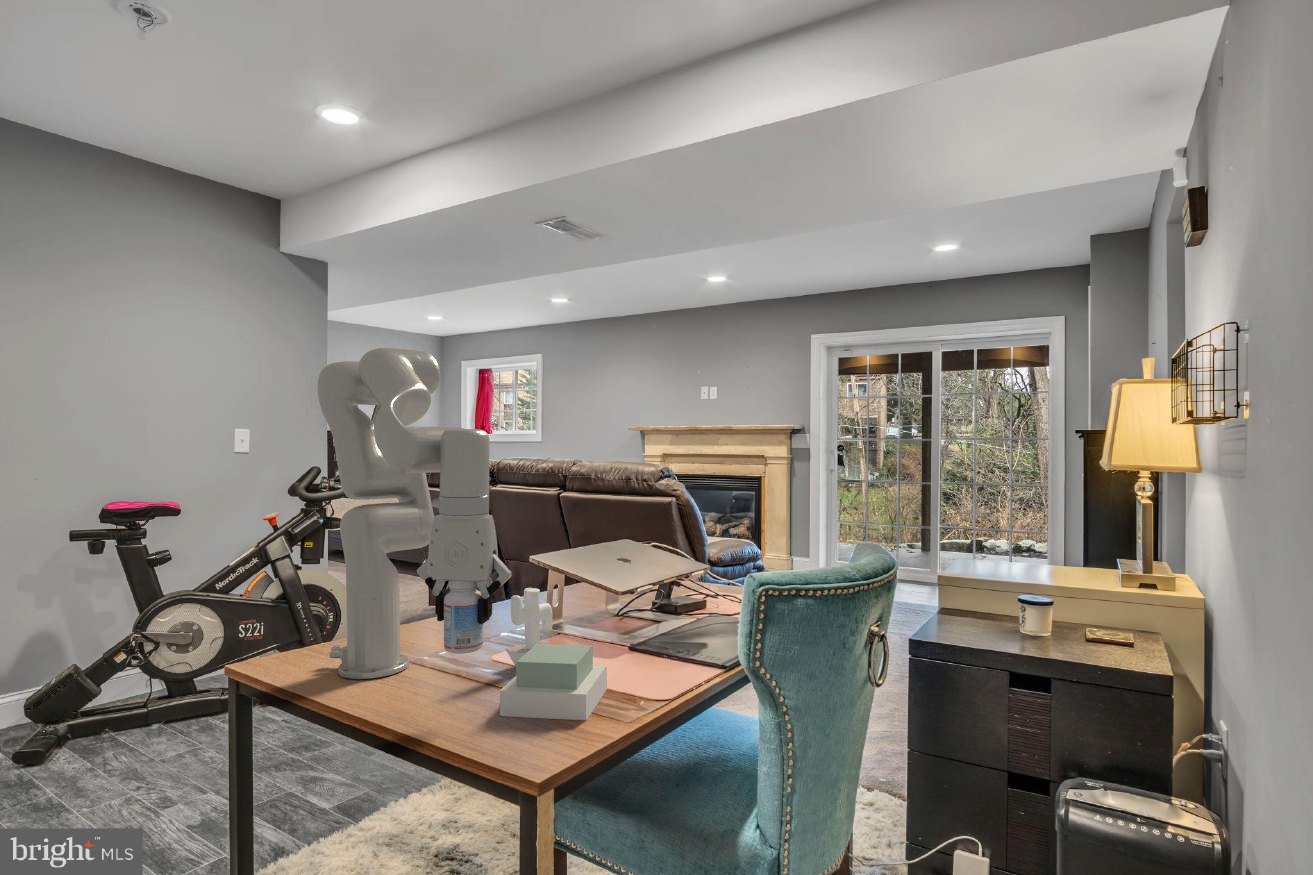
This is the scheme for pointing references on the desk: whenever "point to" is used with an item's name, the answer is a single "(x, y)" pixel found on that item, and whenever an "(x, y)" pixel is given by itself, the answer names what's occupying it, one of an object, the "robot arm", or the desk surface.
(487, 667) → the desk surface
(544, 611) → the figurine
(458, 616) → the pill bottle
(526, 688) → the base block
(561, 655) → the top block
